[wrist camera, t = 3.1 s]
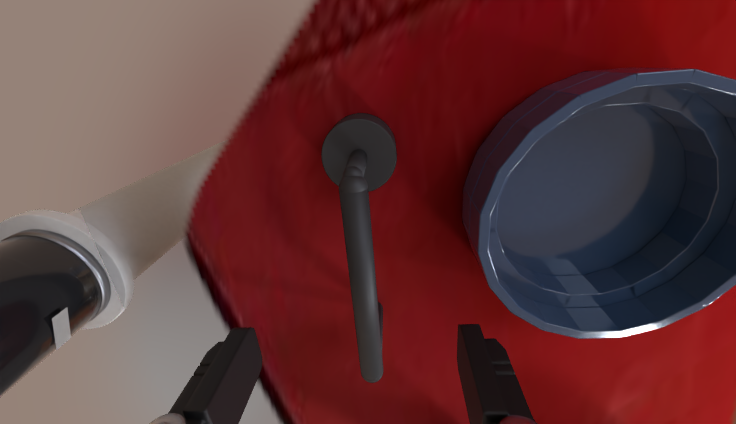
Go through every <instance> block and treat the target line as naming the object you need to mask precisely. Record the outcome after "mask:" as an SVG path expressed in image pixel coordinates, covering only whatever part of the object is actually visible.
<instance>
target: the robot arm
mask: <svg viewBox="0 0 736 424" xmlns="http://www.w3.org/2000/svg"><path fill="white" fill-rule="evenodd" d="M110 297H111V287H110V282H109V279H108V276H107V274H106V272H105V270H104V269H103V267H102V266H101V264H100V263H99V262H98V260H97V259H96V258H95V257H94V256H93V255H92V254H91V253H90V252H89V251H88V250H86V249H85V248H84V247H83V246H81V245H80V244H78V243H77V242H75V241H73V240H72V239H70V238H68V237H66V236H63V235H61V234H58V233H55V232H52V231H47V230H40V229H30V230H24V231H20V232H18V233H15V234H13V235H11V236H9V237H7V238H5V239H3V240H1V241H0V397H1V396H3V394H5V393H6V392H7V391H8V390H9V389H11V388H12V387H13V386H14V385H15V384H16V383H18V382H19V381H20V380H21V379H22V378H23V377H25V376H26V375H27V374H28V373H29V372H30V371H32V370H33V369H34V368H35V367H36V366H37V365H39V364H40V363H41V362H42V361H43V360H44V359H46V358H47V357H48V356H49V355H50V354H51V353H53V352H54V351H55V350H57V349H58V348H59V347H60V346H62V345H63V344H64V343H65V342H66V341H67V340H69V339H70V338H71V336H73V335H74V334H75V333H76V332H77V331H78V330H79V329H81V328H82V327H83V326H84V325H85V324H86V323H88V322H89V321H91V320H93V319H94V318H95V317H96V316H98V315H99V314H100V313H101V312H102V311H103V310H104V309H105V308H106V307H107V305H108V303H109V301H110ZM457 363H458V370H459V375H460V380H461V384H462V389H463V393H464V398H465V402H466V407H467V411H468V416H469V421H470V424H537V423H536V422H535V420H534V419H533V417H532V414H531V412H530V410H529V407H528V405H527V402H526V400H525V397H524V395H523V392H522V390H521V387H520V385H519V382H518V380H517V377H516V375H515V372H514V370H513V367H512V365H511V363H510V360H509V357H508V355H507V352H506V350H505V349H504V348H503V346H502V345H501V344H500V343H499V342H498V341H497V340H496V339H484V337H483V334H482V331H481V328H480V326H479V324H461V325H458V342H457ZM261 367H262V355H261V351H260V347H259V344H258V340H257V336H256V333H255V330H254V328H252V327H250V328H233V329H232V330H231V331H230V333H229V334H228V336H227V338H226V340H225V341H224V342H218V343H217V344H216V345H215V346H214V347H212V348H211V349H210V350H209V351H208V352H207V353H206V355H205V357H204V358H203V360H202V362H201V363H200V366H198V368H197V369H196V371H195V372H194V376H192V377H191V379H190V380H189V382H188V383H187V385H186V386H185V388H184V390H183V391H182V393H181V394H180V396H179V397H178V399H177V401H176V402H175V404H174V405H173V407H172V408H171V410H170V411H169V413H168V414H166V415H163V416H161V417H158V418H157V419H155V420H154V421H152V422H151V423H150V424H238V423H239V421H240V419H241V416H242V414H243V412H244V409H245V407H246V405H247V402H248V400H249V397H250V395H251V393H252V390H253V388H254V386H255V383H256V381H257V379H258V376H259V374H260V371H261Z"/></svg>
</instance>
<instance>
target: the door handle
mask: <svg viewBox="0 0 736 424" xmlns="http://www.w3.org/2000/svg"><path fill="white" fill-rule="evenodd" d="M321 156H322V163H323V167H324V169H325V171H326V173H327V175H328V176H329V178H330V179H331V180H332V181H333V182H334V183H335V184H336V185H338V186H339V194H340V203H341V211H342V219H343V227H344V236H345V244H346V252H347V261H348V269H349V277H350V286H351V294H352V302H353V310H354V319H355V327H356V335H357V344H358V352H359V360H360V369H361V374H362V377H363V378H364V379H365V380H366V381H367V382H370V383H374V382H377V381H379V380H380V379H381V377H382V375H383V360H382V330H383V307H382V305H381V304H380V303H379V302H378V301H377V289H376V277H375V265H374V253H373V242H372V230H371V218H370V206H369V194H368V192H369V191H373V190H375V189H377V188H379V187H381V186H382V185H383V184H384V183H386V182H387V181H388V179H389V178H390V177H391V175H392V173H393V171H394V169H395V166H396V160H397V153H396V143H395V138H394V135H393V133H392V131H391V129H390V128H389V127H388V125H387V124H386V123H385V122H384V121H382V120H381V119H379V118H378V117H376V116H373V115H370V114H365V113H357V114H352V115H349V116H347V117H345V118H343V119H341V120H340V121H339V122H338V123H337V124H336V125H335V126H334V127H333V129H332V130H331V131H330V132H329V133H328V135H327V136H326V138H325V140H324V143H323V146H322V154H321Z"/></svg>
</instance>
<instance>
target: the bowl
mask: <svg viewBox="0 0 736 424" xmlns="http://www.w3.org/2000/svg"><path fill="white" fill-rule="evenodd" d="M462 222H463V225H464V228H465V231H466V233H467V236H468V239H469V242H470V245H471V248H472V251H473V253H474V255H475V257H476V259H477V262H478V264H479V266H480V268H481V270H482V273H483V275H484V277H485V279H486V281H487V284H488V286H489V287H490V289H491V290H492V291H493V292H494V293H495V294H496V296H497V297H498V298H499V299H500V300H501V301H502V303H503V304H504V305H505V306H506V307H507V309H508V310H509V311H510V312H511V313H513V314H515V315H516V316H518V317H520V318H522V319H523V320H525V321H527V322H529V323H530V324H532V325H534V326H536V327H537V328H539V329H541V330H543V331H548V332H552V333H556V334H561V335H565V336H569V337H574V338H579V339H587V338H621V337H626V336H630V335H634V334H638V333H642V332H646V331H650V330H655V329H659V328H662V327H665V326H667V325H669V324H671V323H673V322H675V321H678V320H680V319H682V318H684V317H686V316H688V315H690V314H692V313H695V312H697V311H699V310H701V309H703V308H705V307H707V306H708V305H709V304H711V303H712V302H713V301H715V300H716V299H717V298H719V297H720V296H721V295H723V294H724V293H725V292H727V291H728V290H729V289H731V288H732V287H733V286H735V285H736V80H735V79H731V78H727V77H724V76H720V75H716V74H713V73H709V72H705V71H702V70H698V69H686V68H619V69H607V70H595V71H585V72H581V73H579V74H576V75H574V76H571V77H569V78H566V79H563V80H561V81H558V82H556V83H553V84H551V85H548V86H546V87H543V88H541V89H540V90H538V91H537V92H535V93H534V94H533V95H531V96H530V97H529V98H527V99H526V100H525V101H523V102H522V103H521V104H519V105H518V106H517V107H515V108H514V109H513V110H511V111H510V112H509V113H507V114H506V115H505V116H504V118H502V119H501V120H500V121H499V123H498V124H497V125H496V127H495V128H494V129H493V131H492V132H491V133H490V135H489V136H488V137H487V138H486V140H485V141H484V142H483V144H482V145H481V146H480V148H479V149H478V152H476V155H475V157H474V160H473V163H472V165H471V168H470V171H469V173H468V176H467V179H466V181H465V184H464V188H463V212H462Z"/></svg>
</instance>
